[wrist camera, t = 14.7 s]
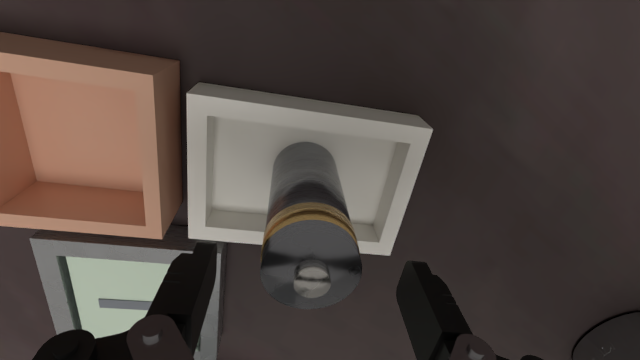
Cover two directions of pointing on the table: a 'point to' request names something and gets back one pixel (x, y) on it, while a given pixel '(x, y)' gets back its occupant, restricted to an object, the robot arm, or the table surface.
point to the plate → (113, 292)
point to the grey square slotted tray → (60, 244)
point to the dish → (88, 138)
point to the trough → (276, 134)
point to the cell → (308, 231)
